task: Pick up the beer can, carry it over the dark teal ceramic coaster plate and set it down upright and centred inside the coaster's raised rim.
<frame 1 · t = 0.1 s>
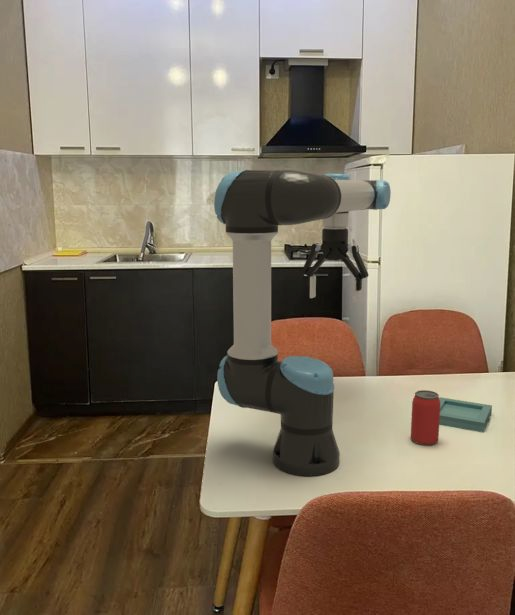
hand: (333, 299, 181), 28 cm above the table, fingers open, 13 cm apart
beer can: (424, 441, 149), on the table
coaster: (460, 418, 163), on the table
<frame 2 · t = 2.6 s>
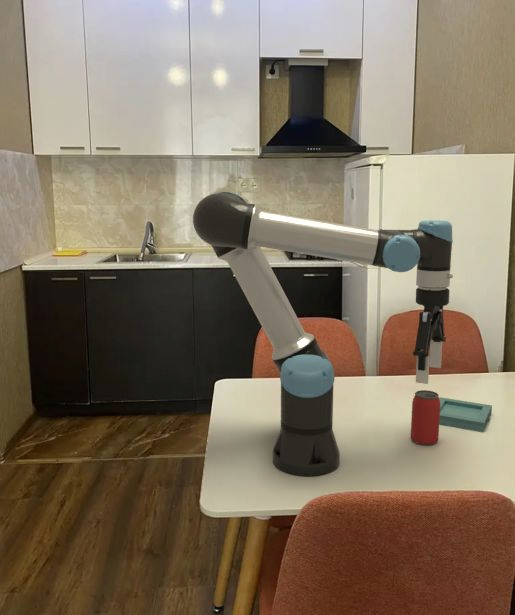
hand: (428, 374, 146), 17 cm above the table, fingers open, 13 cm apart
nothing on the table moved.
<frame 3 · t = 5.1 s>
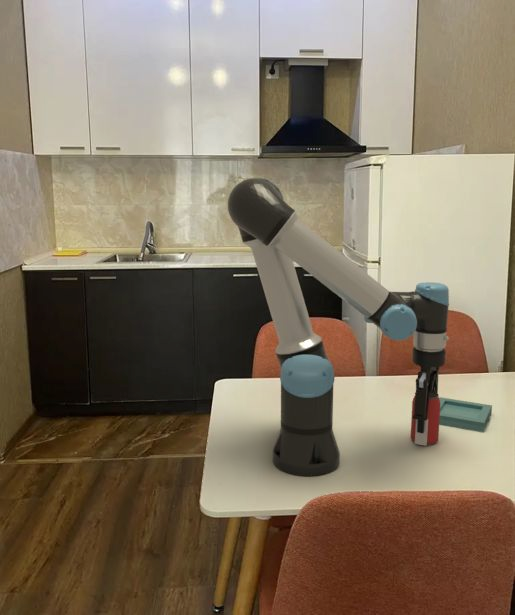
hand: (424, 438, 149), 1 cm above the table, fingers closed on beer can, 7 cm apart
beer can: (424, 441, 149), on the table, touching gripper
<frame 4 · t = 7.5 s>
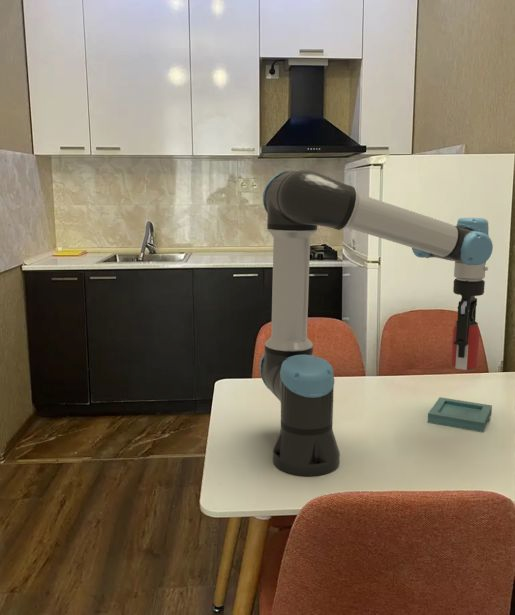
hand: (463, 365, 160), 15 cm above the table, fingers closed on beer can, 7 cm apart
beer can: (463, 367, 160), point 14 cm above the table, touching gripper
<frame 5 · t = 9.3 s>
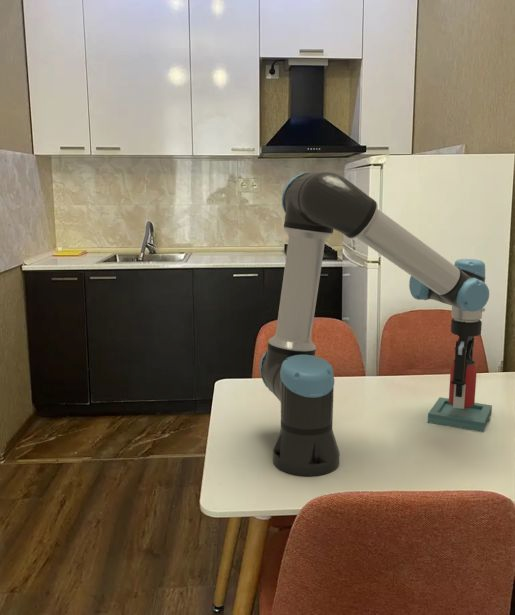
hand: (461, 403, 162), 4 cm above the table, fingers closed on beer can, 7 cm apart
beer can: (461, 405, 162), point 4 cm above the table, touching gripper
when the fingers open (3 cm above the table, at t = 10.3 s): beer can drops 1 cm, resting on coaster.
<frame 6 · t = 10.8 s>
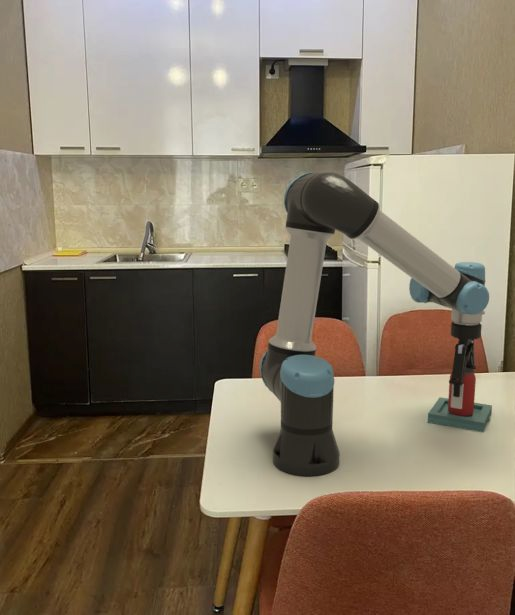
hand: (461, 399, 162), 5 cm above the table, fingers open, 13 cm apart
beer can: (460, 413, 163), point 1 cm above the table, touching coaster
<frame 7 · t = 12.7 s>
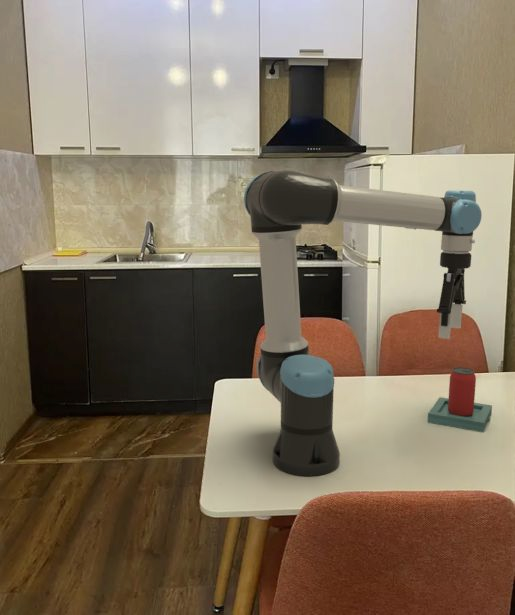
hand: (449, 332, 159), 23 cm above the table, fingers open, 13 cm apart
nothing on the table moved.
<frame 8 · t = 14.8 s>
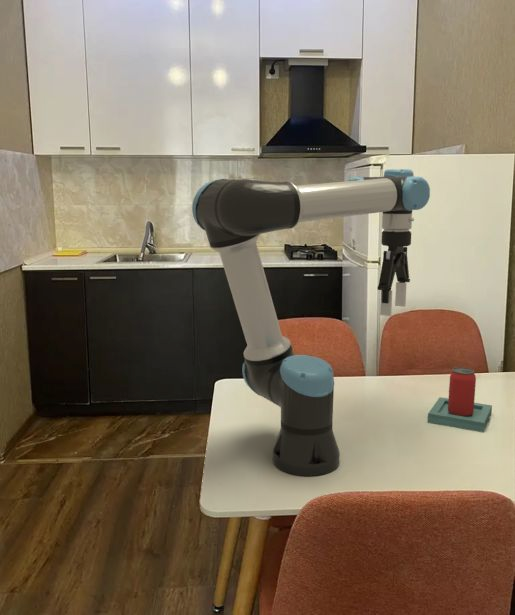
hand: (393, 310, 161), 29 cm above the table, fingers open, 13 cm apart
nothing on the table moved.
at the end: beer can 0.1 cm from the coaster (horizontally); beer can tilted 0°; beer can touching coaster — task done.
